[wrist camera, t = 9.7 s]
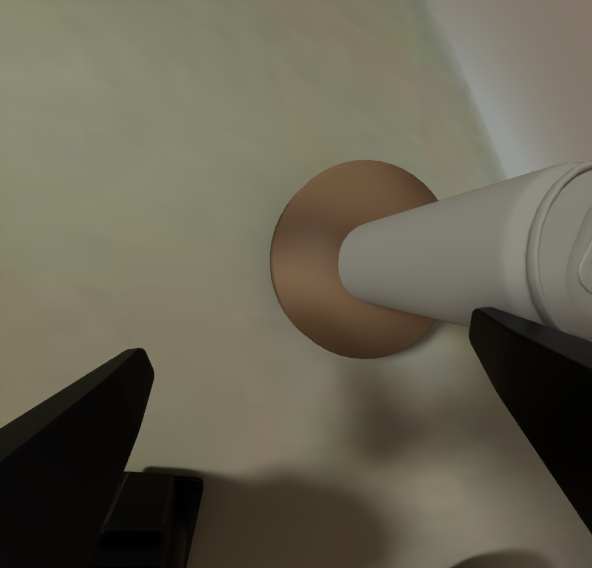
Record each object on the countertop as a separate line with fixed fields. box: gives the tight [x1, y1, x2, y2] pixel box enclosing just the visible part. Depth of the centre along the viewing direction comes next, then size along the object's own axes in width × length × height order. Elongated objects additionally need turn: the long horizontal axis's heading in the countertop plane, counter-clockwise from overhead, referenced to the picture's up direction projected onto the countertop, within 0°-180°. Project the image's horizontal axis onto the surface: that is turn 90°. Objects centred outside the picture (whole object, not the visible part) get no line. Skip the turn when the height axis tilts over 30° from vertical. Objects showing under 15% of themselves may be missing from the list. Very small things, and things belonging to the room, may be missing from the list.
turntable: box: [270, 160, 438, 359], centre depth 20 cm, size 12×12×2 cm
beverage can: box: [338, 160, 592, 341], centre depth 13 cm, size 5×5×12 cm
